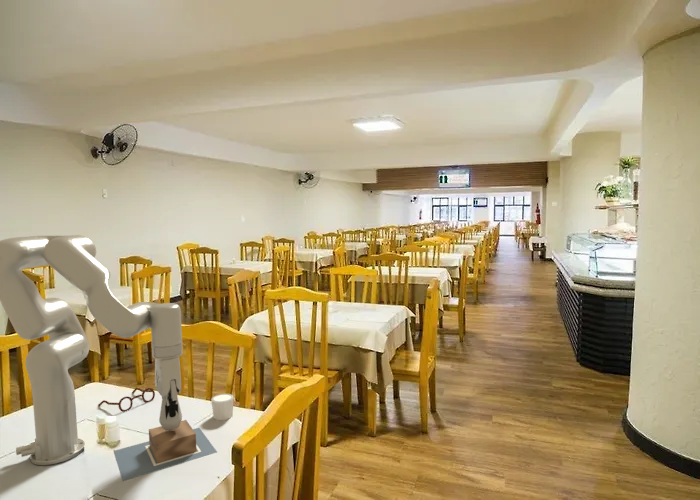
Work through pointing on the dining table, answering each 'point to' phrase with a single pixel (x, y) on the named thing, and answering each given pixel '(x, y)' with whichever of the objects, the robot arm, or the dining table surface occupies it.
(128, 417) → the dining table surface
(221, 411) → the white rounded cylinder
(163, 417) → the salt shaker
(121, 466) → the board
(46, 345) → the robot arm
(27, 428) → the dining table surface
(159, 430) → the walnut block
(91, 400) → the dining table surface
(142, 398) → the glasses
